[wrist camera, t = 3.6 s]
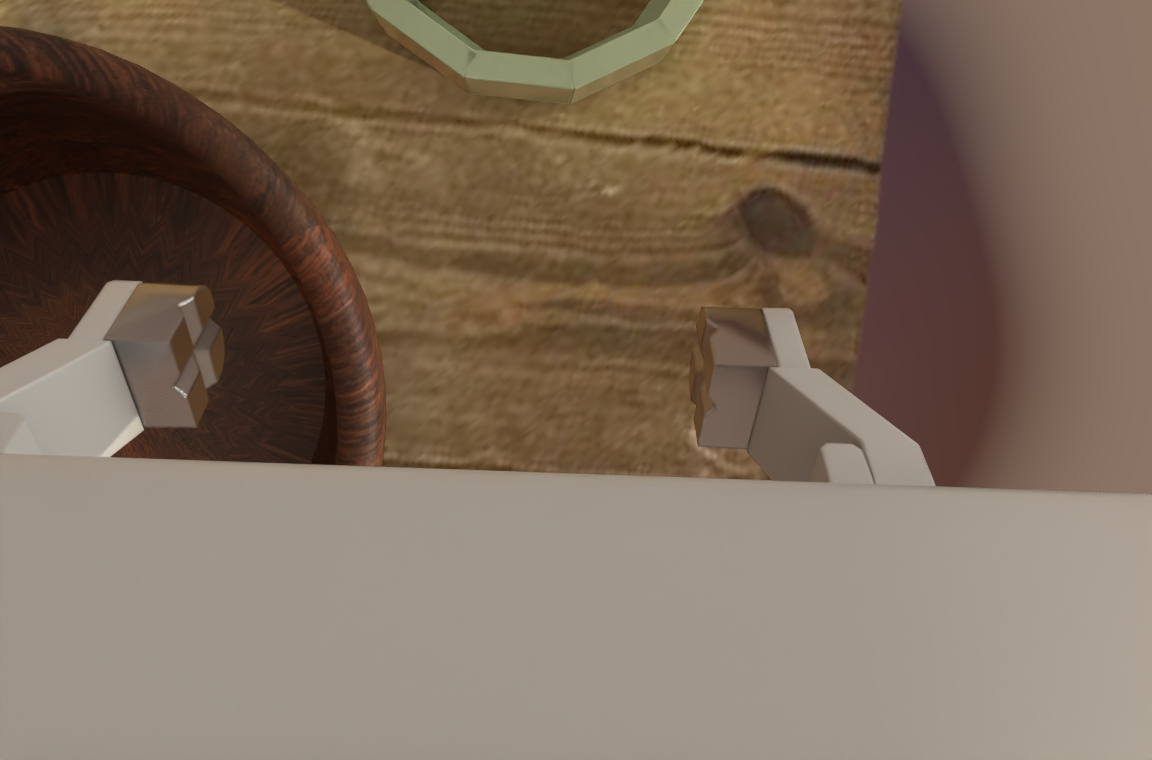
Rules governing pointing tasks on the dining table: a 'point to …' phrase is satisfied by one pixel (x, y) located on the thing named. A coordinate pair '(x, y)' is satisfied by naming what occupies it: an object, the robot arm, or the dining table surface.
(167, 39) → the dining table surface
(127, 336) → the robot arm
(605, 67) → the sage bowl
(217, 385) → the wooden bowl
